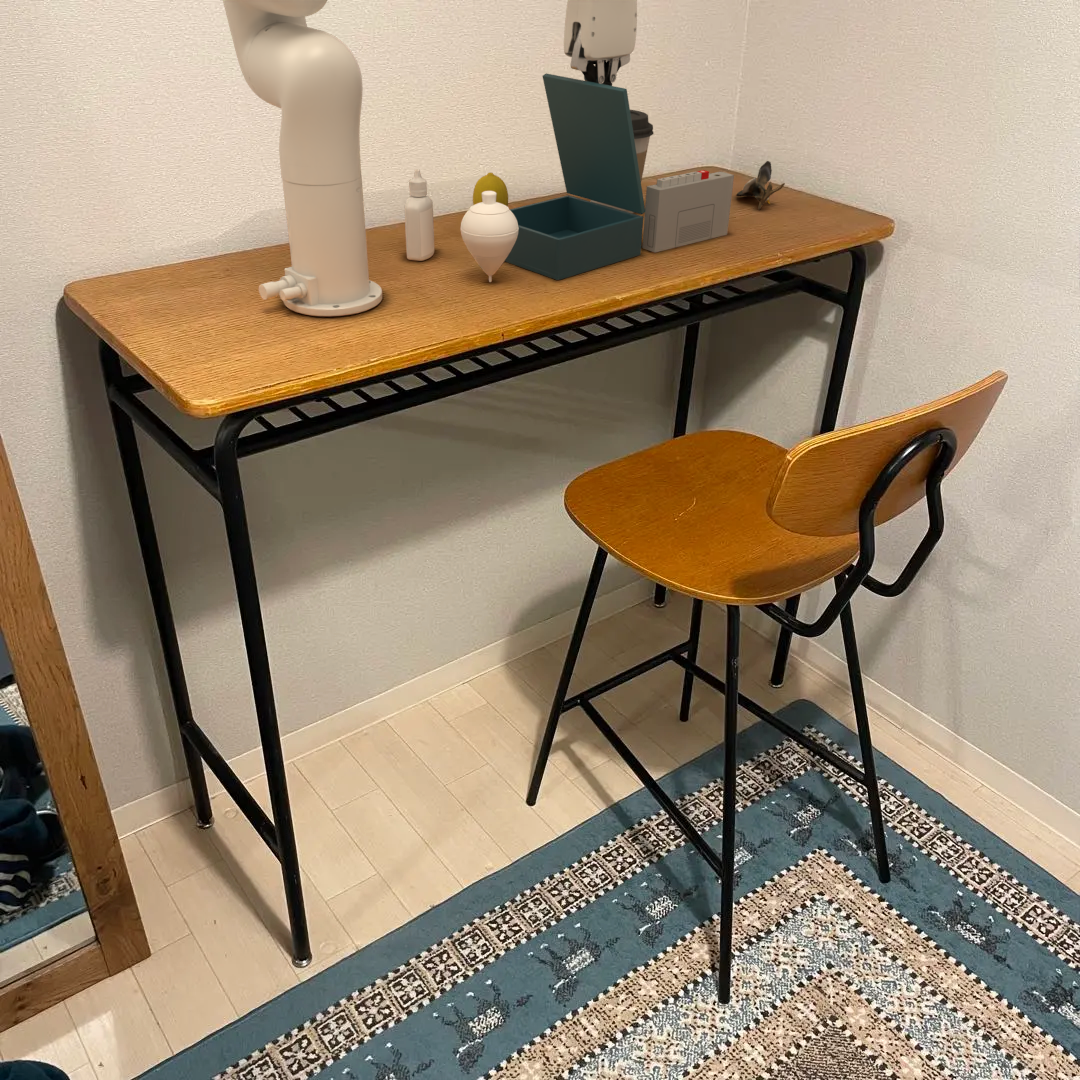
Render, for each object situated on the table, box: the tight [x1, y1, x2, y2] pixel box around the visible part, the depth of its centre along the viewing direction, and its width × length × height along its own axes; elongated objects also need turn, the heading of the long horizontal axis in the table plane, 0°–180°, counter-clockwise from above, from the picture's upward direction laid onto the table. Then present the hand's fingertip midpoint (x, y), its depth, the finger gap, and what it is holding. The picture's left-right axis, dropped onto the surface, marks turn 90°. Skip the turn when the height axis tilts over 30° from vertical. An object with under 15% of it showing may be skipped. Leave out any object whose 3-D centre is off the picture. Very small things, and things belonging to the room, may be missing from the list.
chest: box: [504, 194, 644, 281], centre depth 151 cm, size 17×15×6 cm
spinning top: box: [460, 191, 519, 283], centre depth 138 cm, size 8×8×12 cm
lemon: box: [472, 172, 509, 208], centre depth 162 cm, size 6×6×8 cm
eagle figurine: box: [735, 160, 786, 211], centre depth 176 cm, size 8×7×9 cm
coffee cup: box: [590, 109, 654, 214], centre depth 168 cm, size 11×11×15 cm
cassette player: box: [641, 169, 735, 253], centre depth 156 cm, size 16×3×10 cm, turn 129°
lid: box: [542, 72, 645, 215], centre depth 148 cm, size 18×15×1 cm
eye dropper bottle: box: [404, 169, 436, 262], centre depth 147 cm, size 4×6×12 cm
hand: (598, 112), depth 146 cm, fingers closed
